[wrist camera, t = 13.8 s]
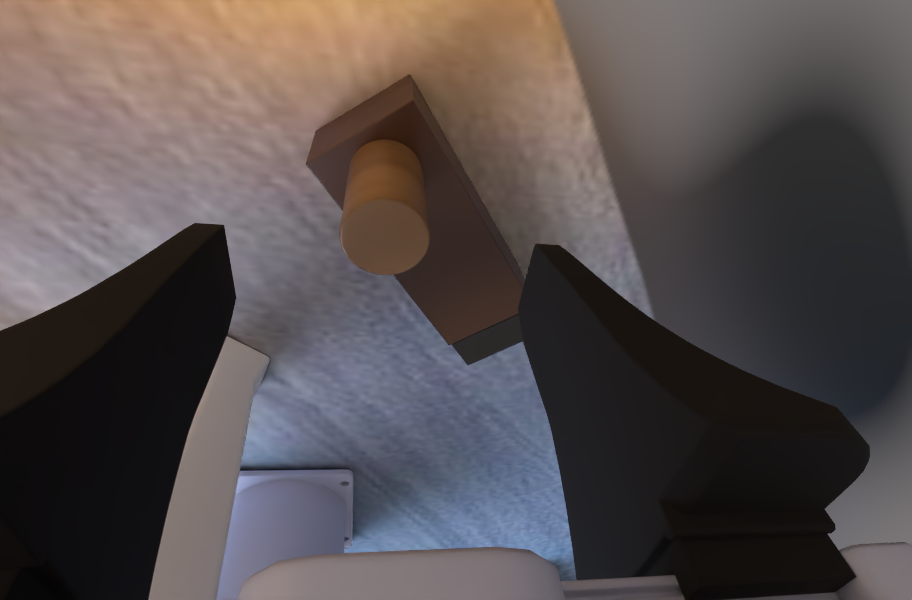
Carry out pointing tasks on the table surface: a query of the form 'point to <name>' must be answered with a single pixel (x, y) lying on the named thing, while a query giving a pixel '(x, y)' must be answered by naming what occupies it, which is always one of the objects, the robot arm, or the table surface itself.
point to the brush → (420, 219)
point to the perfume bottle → (208, 479)
